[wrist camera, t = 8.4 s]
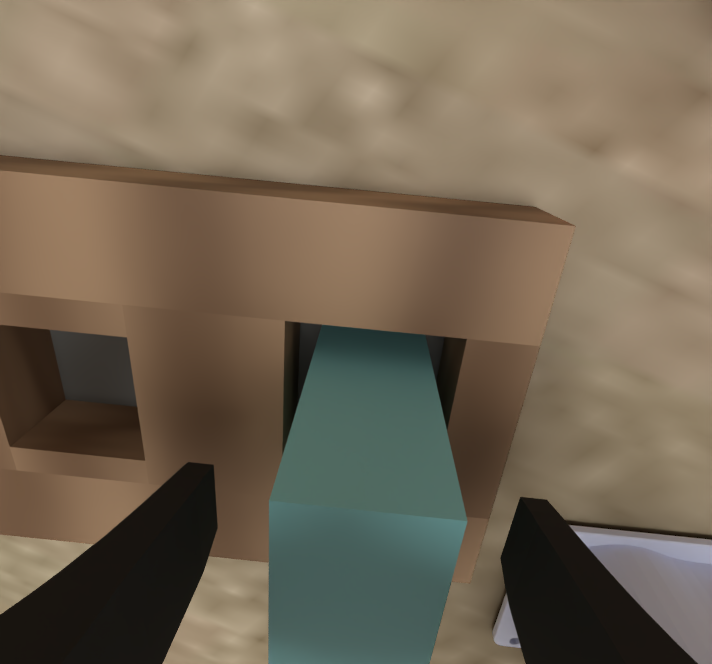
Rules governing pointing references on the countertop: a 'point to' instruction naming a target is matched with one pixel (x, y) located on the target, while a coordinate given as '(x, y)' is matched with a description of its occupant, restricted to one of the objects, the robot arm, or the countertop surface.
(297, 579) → the teal cuboid tower
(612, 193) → the countertop surface
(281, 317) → the socket board
